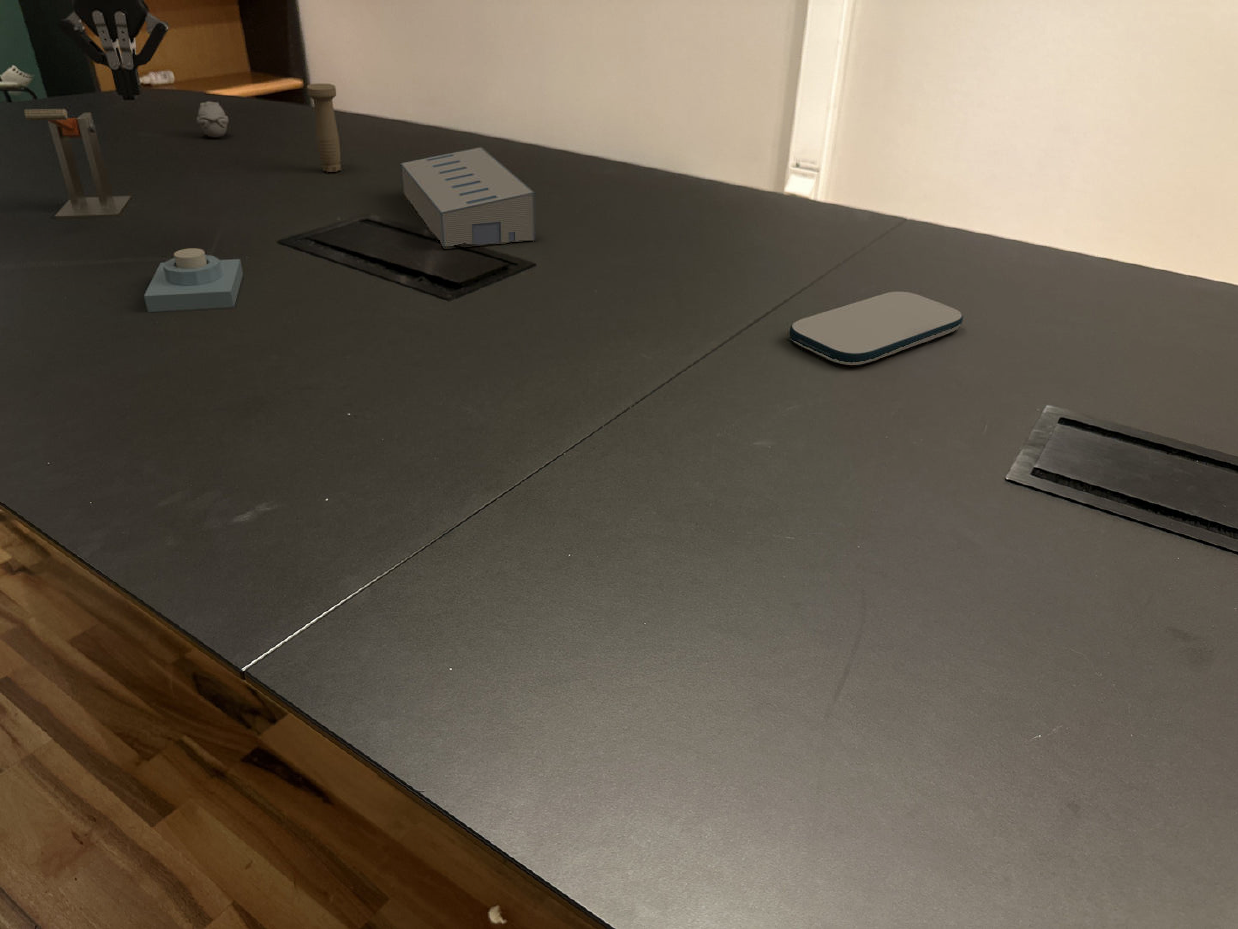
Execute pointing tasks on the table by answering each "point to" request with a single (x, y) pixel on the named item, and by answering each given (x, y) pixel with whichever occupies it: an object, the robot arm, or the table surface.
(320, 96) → the handle
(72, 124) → the lever
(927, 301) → the external hard drive
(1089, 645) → the table surface
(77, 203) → the bracket
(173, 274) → the button box
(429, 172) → the warehouse
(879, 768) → the table surface
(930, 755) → the table surface
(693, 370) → the table surface
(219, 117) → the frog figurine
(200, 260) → the button
